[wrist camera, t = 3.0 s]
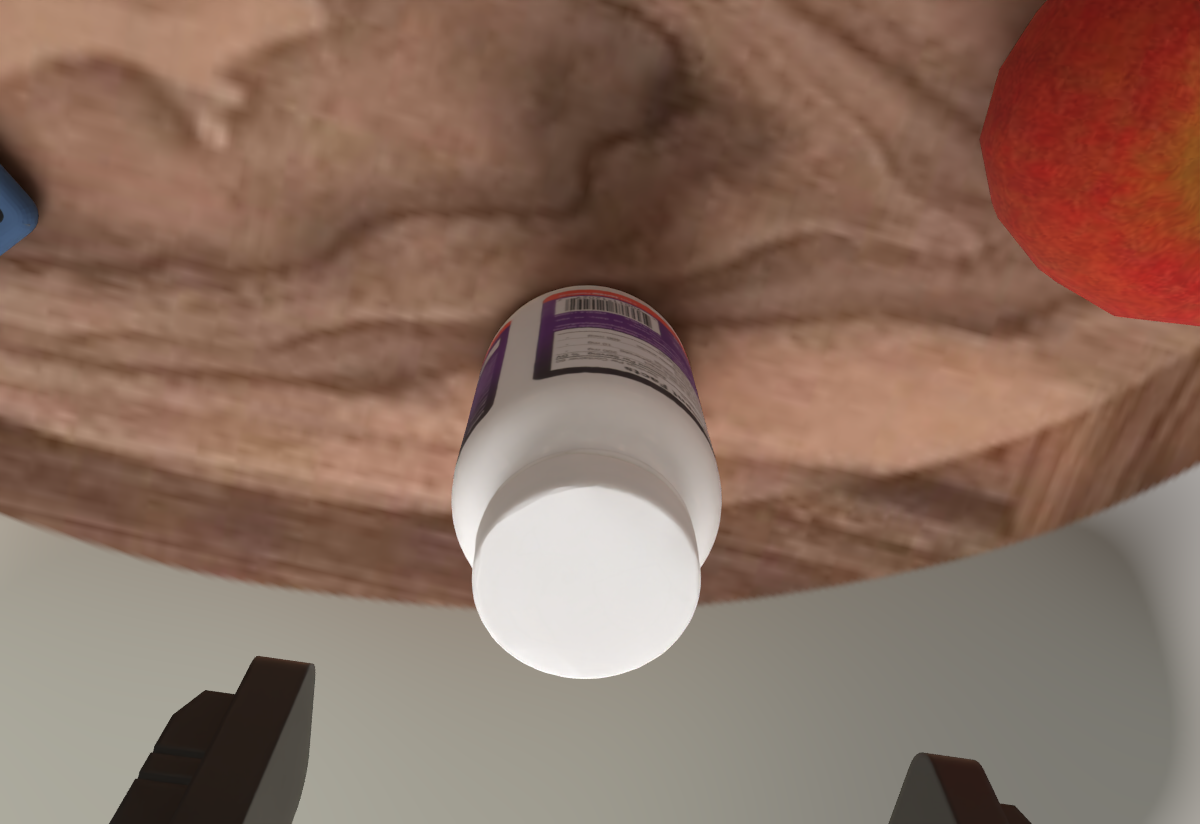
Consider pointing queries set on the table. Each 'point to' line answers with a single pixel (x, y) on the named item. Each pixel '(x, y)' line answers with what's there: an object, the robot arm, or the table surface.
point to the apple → (1104, 152)
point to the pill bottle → (586, 485)
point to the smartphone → (14, 212)
